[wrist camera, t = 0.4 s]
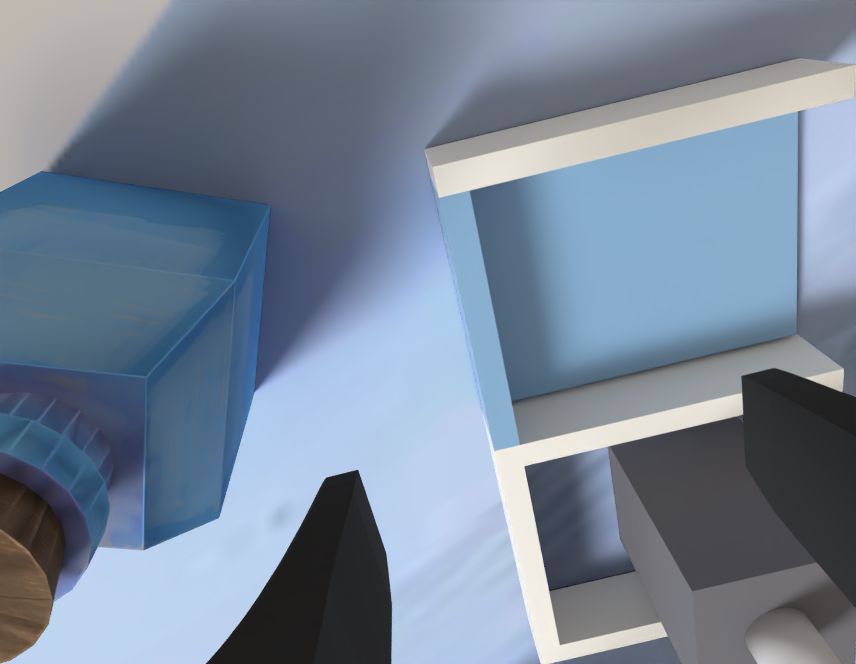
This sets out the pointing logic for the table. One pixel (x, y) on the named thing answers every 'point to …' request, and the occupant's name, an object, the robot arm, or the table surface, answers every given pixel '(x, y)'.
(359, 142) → the table surface
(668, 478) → the plug
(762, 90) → the two-rail blue tray
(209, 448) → the perfume bottle
